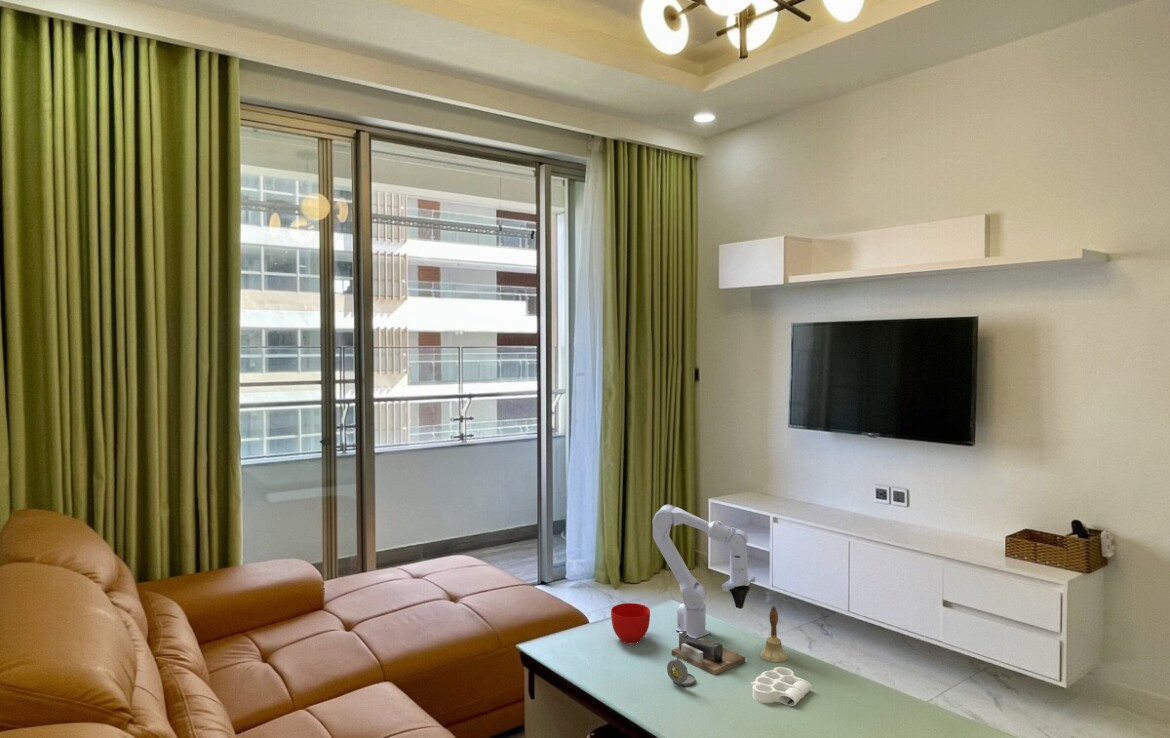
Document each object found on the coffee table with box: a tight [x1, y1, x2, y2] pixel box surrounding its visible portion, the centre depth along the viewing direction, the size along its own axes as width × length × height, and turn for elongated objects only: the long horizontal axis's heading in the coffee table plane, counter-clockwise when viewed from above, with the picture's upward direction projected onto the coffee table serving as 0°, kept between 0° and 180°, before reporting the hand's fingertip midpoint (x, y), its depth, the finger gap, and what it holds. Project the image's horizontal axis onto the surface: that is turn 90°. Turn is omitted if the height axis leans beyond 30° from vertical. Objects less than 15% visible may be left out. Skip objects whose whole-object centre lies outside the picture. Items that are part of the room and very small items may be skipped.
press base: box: [671, 637, 746, 676], centre depth 221 cm, size 18×14×4 cm
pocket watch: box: [666, 652, 696, 686], centre depth 206 cm, size 8×8×10 cm
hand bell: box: [759, 605, 788, 663], centre depth 222 cm, size 8×8×16 cm
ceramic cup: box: [610, 602, 651, 644], centre depth 237 cm, size 13×17×10 cm
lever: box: [678, 631, 724, 662], centre depth 220 cm, size 16×3×5 cm, turn 48°
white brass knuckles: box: [750, 666, 813, 707], centre depth 200 cm, size 3×18×15 cm
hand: (739, 607), depth 236 cm, fingers closed
